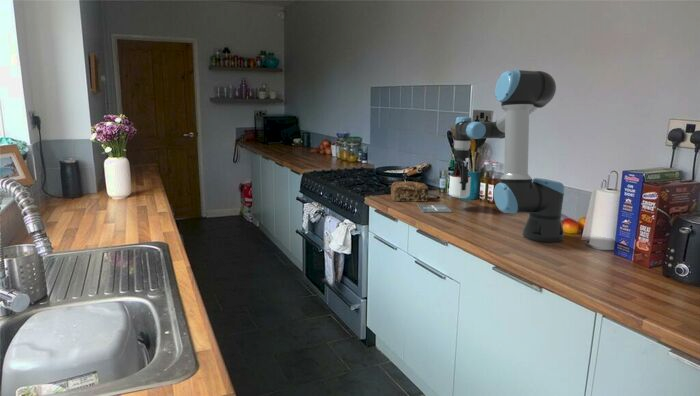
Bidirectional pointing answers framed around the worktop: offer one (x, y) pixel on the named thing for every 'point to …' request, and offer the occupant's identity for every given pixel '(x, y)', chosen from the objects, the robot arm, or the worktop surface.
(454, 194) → the cup
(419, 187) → the bread
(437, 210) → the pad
